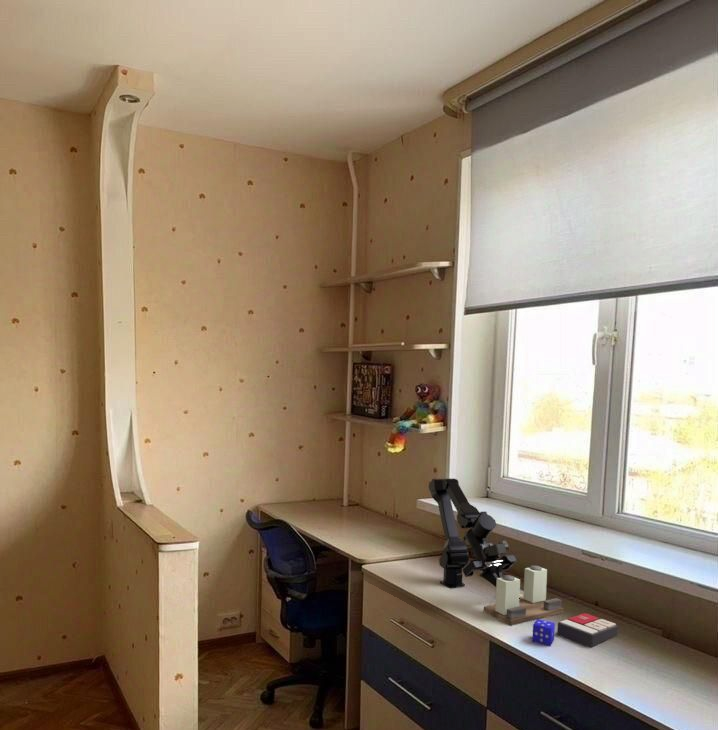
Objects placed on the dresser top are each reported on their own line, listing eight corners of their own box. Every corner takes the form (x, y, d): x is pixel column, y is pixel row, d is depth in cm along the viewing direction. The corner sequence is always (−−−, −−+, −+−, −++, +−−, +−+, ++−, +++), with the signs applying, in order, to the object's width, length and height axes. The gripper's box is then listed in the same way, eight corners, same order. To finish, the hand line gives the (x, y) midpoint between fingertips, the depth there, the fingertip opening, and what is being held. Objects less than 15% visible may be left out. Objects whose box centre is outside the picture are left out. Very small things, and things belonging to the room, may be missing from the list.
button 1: (495, 610, 195) (496, 576, 196) (509, 607, 199) (510, 573, 199) (504, 615, 192) (506, 580, 192) (518, 612, 195) (520, 577, 195)
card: (507, 593, 217) (507, 591, 217) (520, 590, 220) (520, 589, 220) (525, 601, 210) (525, 599, 210) (537, 598, 213) (538, 596, 213)
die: (550, 646, 176) (551, 628, 176) (532, 642, 178) (533, 624, 178) (554, 640, 180) (554, 622, 180) (536, 636, 182) (537, 618, 182)
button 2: (523, 599, 207) (524, 566, 207) (536, 596, 210) (537, 564, 210) (532, 603, 204) (534, 570, 204) (545, 600, 207) (547, 567, 207)
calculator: (618, 623, 186) (592, 632, 176) (617, 638, 186) (591, 648, 176) (584, 611, 194) (557, 619, 184) (583, 625, 194) (556, 634, 184)
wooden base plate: (483, 611, 199) (483, 598, 199) (534, 600, 211) (535, 588, 211) (511, 625, 189) (511, 612, 189) (563, 613, 201) (564, 600, 201)
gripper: (470, 535, 197) (494, 581, 188) (514, 529, 207) (538, 573, 197) (453, 553, 204) (474, 599, 194) (495, 547, 214) (518, 590, 204)
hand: (502, 590), depth 197 cm, fingers closed, pressing on button 1
